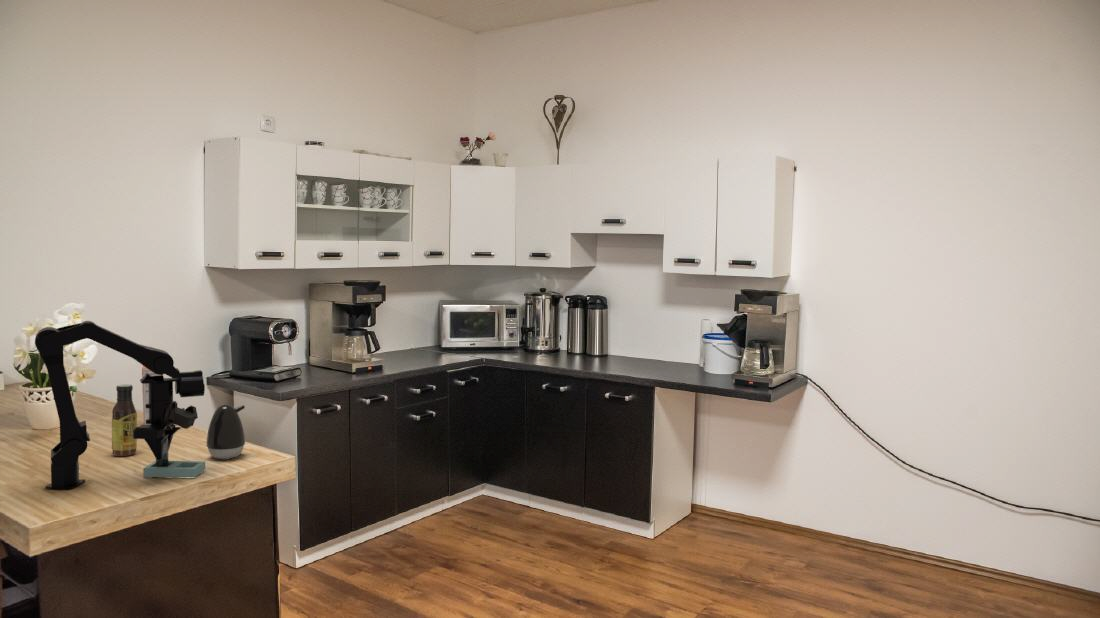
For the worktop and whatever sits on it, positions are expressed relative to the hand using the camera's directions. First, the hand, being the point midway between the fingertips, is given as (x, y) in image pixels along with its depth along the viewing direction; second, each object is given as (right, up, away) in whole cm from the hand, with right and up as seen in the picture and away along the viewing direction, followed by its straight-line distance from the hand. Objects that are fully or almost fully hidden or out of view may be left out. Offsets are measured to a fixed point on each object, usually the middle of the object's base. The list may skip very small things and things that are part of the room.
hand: (161, 457), depth 208 cm
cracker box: (-27, 0, +50) cm, 56 cm away
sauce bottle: (-19, -3, +18) cm, 26 cm away
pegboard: (+3, -4, +1) cm, 5 cm away
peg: (0, -2, 0) cm, 2 cm away
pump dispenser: (+10, -3, +18) cm, 20 cm away
